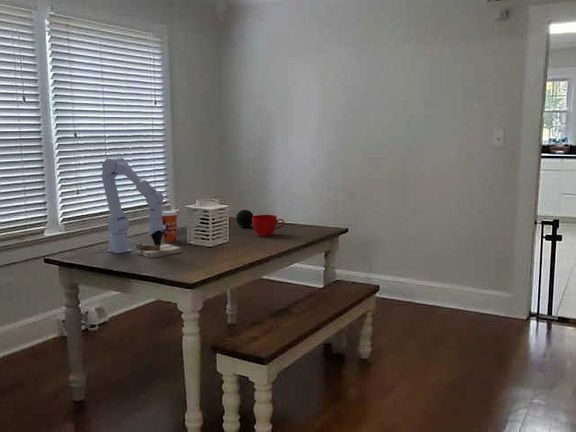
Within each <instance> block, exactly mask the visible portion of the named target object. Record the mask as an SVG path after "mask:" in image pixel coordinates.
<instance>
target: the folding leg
mask: <svg viewBox="0 0 576 432" xmlns="http://www.w3.org/2000/svg"><path fill="white" fill-rule="evenodd" d="M135 249H143V250H160V245H154V244H147V243H146V244H145V243H142V242H137V243H136V248H135Z"/></svg>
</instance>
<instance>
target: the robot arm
mask: <svg viewBox="0 0 576 432" xmlns="http://www.w3.org/2000/svg"><path fill="white" fill-rule="evenodd" d="M101 167H102V172H101V180H102V184H103V189H104V192H105V197H106V201H107V206H108V210H109V213H110V214H109V215H108V218H107V222H108V223H107V229H108V231H109V232H110V233H109V234H108V248H109V249H107V251H108V252H111V253H114V254H122V253H127V252H128V253H129V252H132V251H133V249H130V248H129V240H128V230H129V228H130V226H131V225H130V220H129V219H128V216H127V214H126V213H125V212H123V209H122V205H121V200H120V197H119V191H118V187H117V183H116V177H117V176H118V175H119V174H123V175H124V176H125V177H126V178H128V179H129V181H131V182H132V183H133V184H134V185H135V189H136V190H137V191H138V193H140V194H141V195H142V196H143V197H144V198H145V202H146V203H147V205H148V209H149V210H148V211H149V212H148V213H149V215H148V216H149V228H148V229H147V230H146V235H147V236H149V235H150V237H151V238H152V240H153V243H154V244H153V245H161V244H162V239H163V237H164V232H163V230H164V229H166V225H163V221H162V212H163V205H162V203H163V202H164V197H165V196H164V194H163V193H162V192H161V191H160V190H159V191H158V190H157V189H156V188H154V187H153V186H152V185H151V184H150V182H149V180H146V179H141V178H140V176H138V174H137V173H136V172H135V171H134V170H133V169H132V168H131V166H130V165H129V162H127V161H126V160H125V159H124V157H121V156H119V157H111V158H106V159H105V160H104V161H103V163H102V164H101Z"/></svg>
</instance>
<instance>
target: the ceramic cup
mask: <svg viewBox="0 0 576 432" xmlns="http://www.w3.org/2000/svg"><path fill="white" fill-rule="evenodd" d="M280 221H282V224H281V225H280V226H278V227H276V226H277V224H278V222H280ZM284 224H285V220H284V219H282V218H278V219H277V215H274V214H258V215H253V217H252V227H253V229H254V232H255V233H256V234H257V236H259V237H271V236H272V235H273V233H274V232H275V230H280V229H281V228H282V227H283V226H284Z"/></svg>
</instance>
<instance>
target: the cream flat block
mask: <svg viewBox="0 0 576 432" xmlns="http://www.w3.org/2000/svg"><path fill="white" fill-rule="evenodd" d="M134 251H135V254H137V255H140V256H144V257H147V258H149V259H153V258H158V257H163V256H169V255H173V254H179V253H182V247H180V246H179V247H178V246H176V245H172V244H168V243H161V245H160V250H143V249H136V248H135V250H134Z"/></svg>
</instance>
